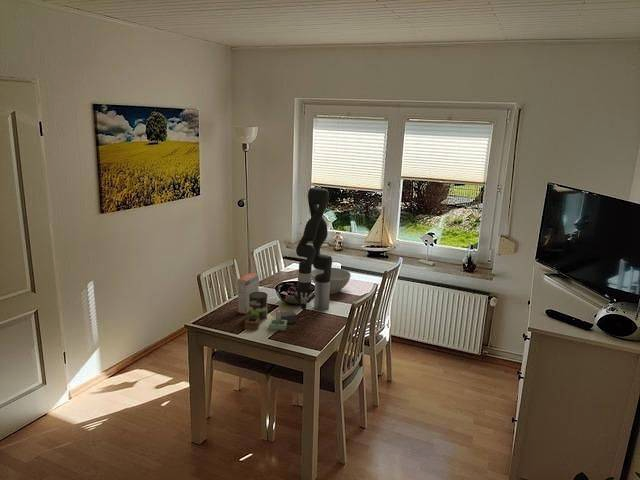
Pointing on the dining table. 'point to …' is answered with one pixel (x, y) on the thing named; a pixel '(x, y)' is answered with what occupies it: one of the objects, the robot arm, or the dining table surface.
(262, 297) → the coffee can
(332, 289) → the decorative bowl
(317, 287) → the robot arm
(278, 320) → the pin
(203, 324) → the dining table surface
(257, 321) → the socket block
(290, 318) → the chock
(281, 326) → the tray
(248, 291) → the cracker box
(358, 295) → the dining table surface
